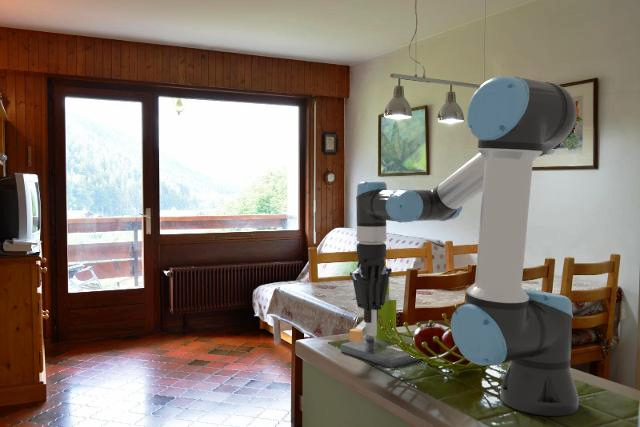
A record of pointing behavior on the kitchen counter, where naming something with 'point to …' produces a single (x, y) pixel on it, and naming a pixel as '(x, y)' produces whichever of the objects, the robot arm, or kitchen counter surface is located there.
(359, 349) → the plate
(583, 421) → the kitchen counter surface
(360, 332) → the swing arm
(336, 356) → the kitchen counter surface
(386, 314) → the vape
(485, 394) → the kitchen counter surface
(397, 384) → the kitchen counter surface
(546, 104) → the robot arm
